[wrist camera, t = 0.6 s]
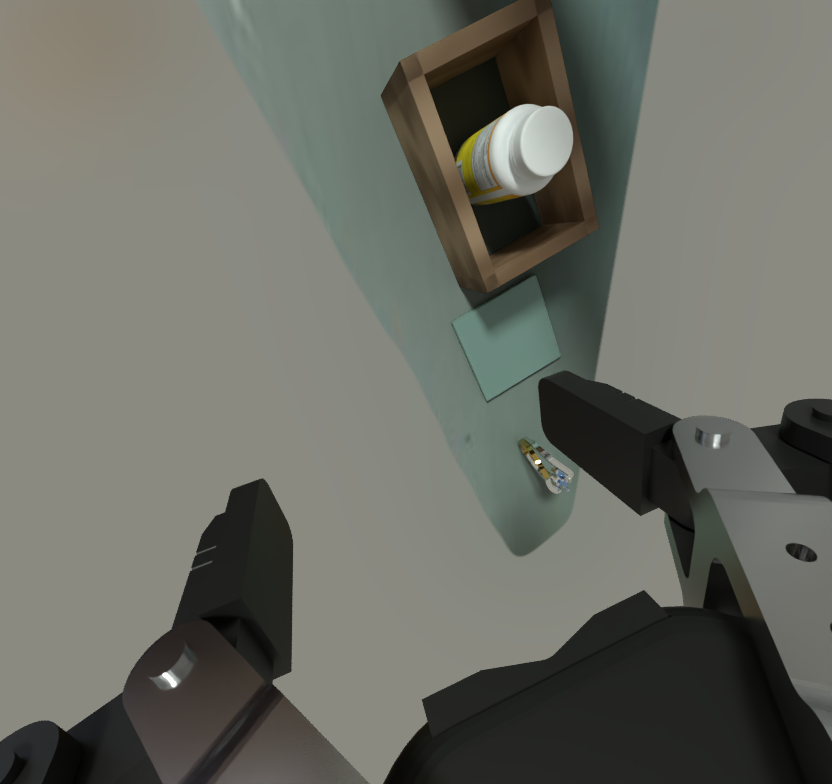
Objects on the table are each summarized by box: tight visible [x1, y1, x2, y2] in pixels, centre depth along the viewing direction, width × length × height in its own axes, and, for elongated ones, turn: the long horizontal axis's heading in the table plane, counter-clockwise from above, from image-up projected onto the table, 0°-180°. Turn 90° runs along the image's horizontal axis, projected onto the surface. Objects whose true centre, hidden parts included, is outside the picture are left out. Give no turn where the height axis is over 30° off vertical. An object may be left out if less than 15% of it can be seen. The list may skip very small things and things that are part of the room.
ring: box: [518, 437, 574, 494], centre depth 42 cm, size 7×3×8 cm, turn 30°
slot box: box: [381, 0, 599, 293], centre depth 30 cm, size 16×11×6 cm
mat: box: [451, 274, 561, 401], centre depth 40 cm, size 10×10×1 cm
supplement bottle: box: [454, 104, 573, 205], centre depth 29 cm, size 6×6×10 cm
